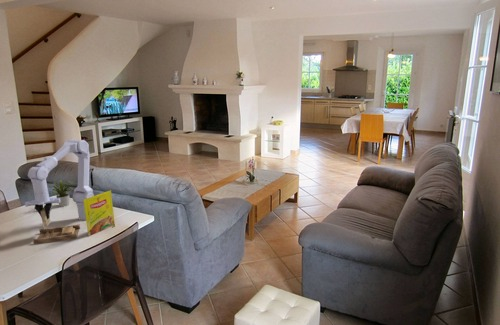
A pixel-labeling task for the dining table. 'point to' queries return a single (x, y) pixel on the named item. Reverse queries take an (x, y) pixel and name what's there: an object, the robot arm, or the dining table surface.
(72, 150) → the robot arm
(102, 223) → the food package
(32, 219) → the dining table surface
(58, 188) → the house plant
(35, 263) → the dining table surface
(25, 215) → the dining table surface
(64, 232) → the oak offcut stack
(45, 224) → the birch sheet
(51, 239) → the walnut rack
